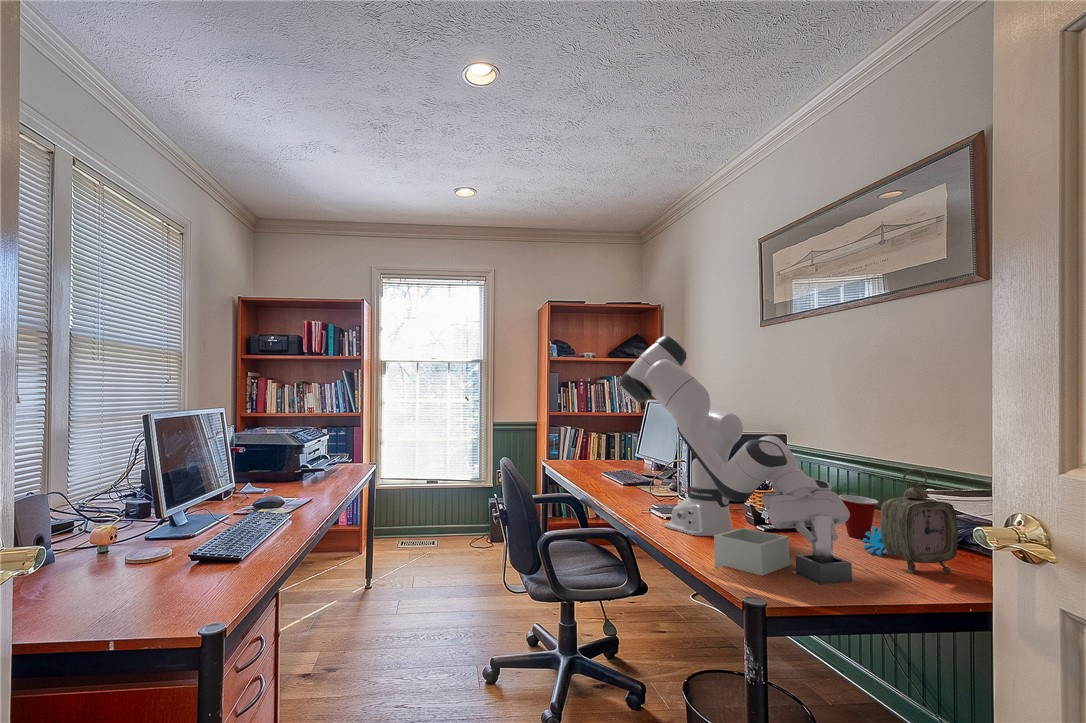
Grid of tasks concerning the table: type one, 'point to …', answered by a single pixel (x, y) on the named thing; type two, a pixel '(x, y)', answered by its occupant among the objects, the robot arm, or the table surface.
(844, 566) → the socket block
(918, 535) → the tabletop clock
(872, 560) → the table surface
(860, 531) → the plastic cup
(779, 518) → the robot arm
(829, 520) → the strut
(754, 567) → the bin
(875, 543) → the gear
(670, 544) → the table surface
